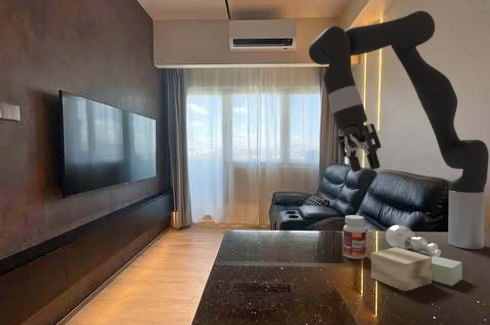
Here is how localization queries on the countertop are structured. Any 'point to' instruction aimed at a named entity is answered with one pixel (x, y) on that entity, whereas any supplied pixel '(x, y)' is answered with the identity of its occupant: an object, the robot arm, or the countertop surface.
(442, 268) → the sage block
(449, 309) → the countertop surface
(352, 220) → the pill bottle
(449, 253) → the countertop surface
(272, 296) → the countertop surface
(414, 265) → the oak block
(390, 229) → the figurine
